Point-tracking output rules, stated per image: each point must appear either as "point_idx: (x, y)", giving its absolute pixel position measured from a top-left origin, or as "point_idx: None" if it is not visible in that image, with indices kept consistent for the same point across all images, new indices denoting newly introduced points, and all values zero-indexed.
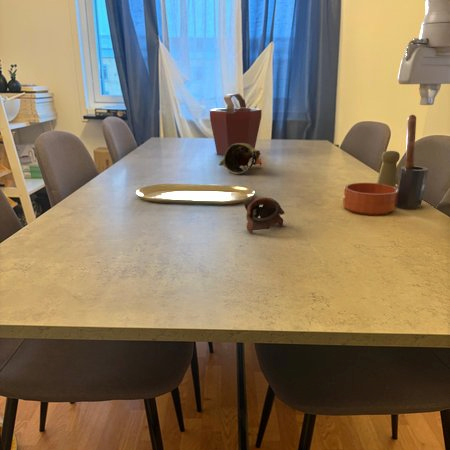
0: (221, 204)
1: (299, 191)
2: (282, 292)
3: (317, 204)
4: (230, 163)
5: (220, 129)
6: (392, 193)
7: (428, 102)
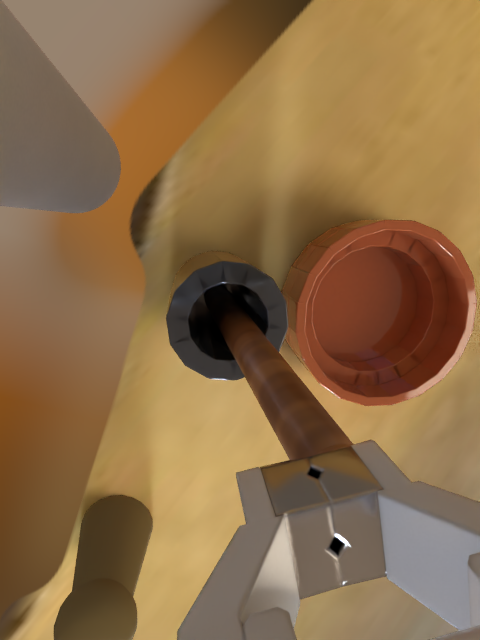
0: None
1: None
2: None
3: (457, 396)
4: None
5: None
6: (376, 222)
7: (340, 456)
